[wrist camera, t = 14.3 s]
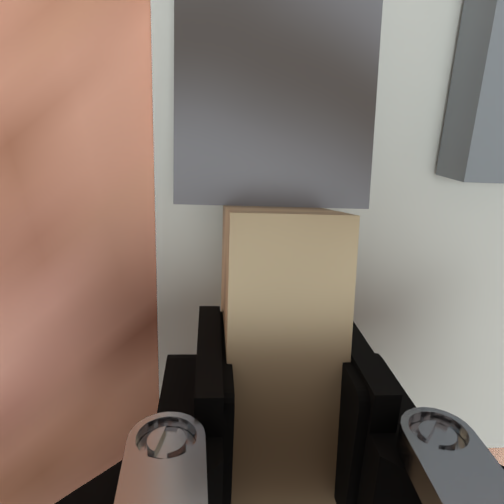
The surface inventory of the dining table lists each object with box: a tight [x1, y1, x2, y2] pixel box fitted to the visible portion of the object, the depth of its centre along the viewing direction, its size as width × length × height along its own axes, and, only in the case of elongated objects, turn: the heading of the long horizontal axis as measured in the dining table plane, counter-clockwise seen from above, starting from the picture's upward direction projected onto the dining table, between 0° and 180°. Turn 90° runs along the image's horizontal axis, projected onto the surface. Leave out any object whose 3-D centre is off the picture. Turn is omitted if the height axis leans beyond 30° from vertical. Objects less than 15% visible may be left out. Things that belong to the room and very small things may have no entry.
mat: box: [151, 0, 504, 448], centre depth 13 cm, size 20×16×1 cm
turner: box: [173, 0, 383, 504], centre depth 10 cm, size 16×5×4 cm, turn 178°
